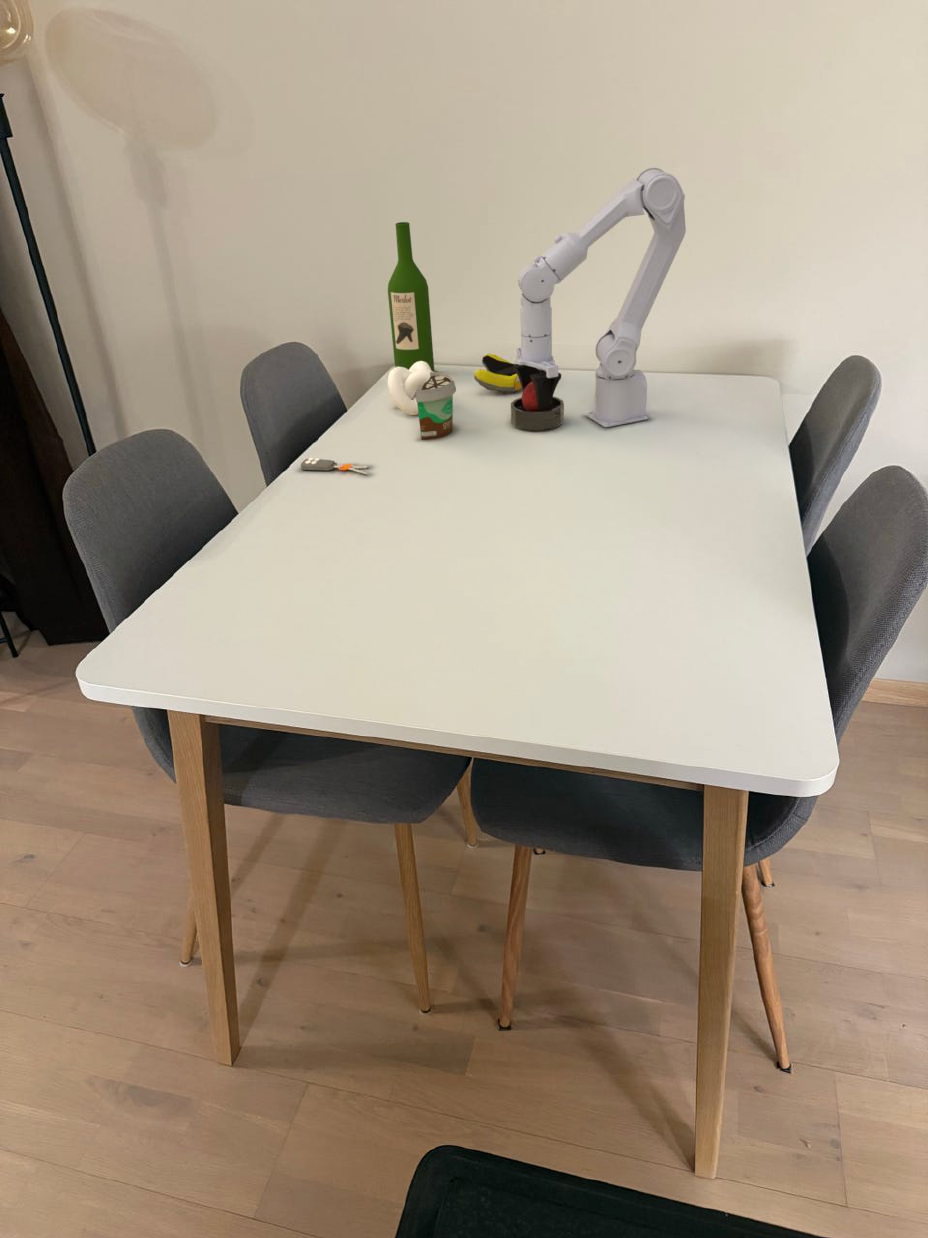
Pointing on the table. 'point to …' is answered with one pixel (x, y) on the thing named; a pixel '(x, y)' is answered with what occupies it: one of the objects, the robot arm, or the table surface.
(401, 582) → the table surface
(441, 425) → the food container
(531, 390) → the onion
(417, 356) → the wine bottle
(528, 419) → the bowl
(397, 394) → the white knotted piece
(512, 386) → the banana bunch
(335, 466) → the key chain
